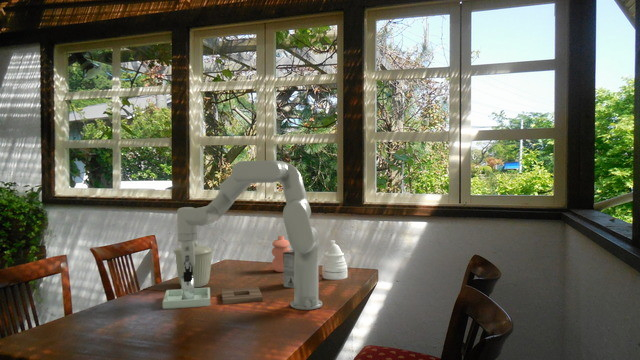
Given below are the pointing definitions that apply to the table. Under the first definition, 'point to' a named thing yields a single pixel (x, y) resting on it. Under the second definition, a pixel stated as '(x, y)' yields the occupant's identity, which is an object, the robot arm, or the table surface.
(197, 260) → the canister
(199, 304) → the tray
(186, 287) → the lock pin
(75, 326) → the table surface
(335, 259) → the honey pot
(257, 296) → the wooden base board
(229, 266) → the table surface
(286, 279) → the coffee box
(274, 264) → the ceramic vessels
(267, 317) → the table surface
